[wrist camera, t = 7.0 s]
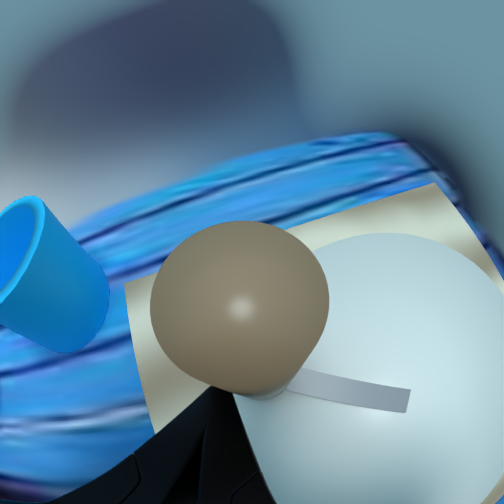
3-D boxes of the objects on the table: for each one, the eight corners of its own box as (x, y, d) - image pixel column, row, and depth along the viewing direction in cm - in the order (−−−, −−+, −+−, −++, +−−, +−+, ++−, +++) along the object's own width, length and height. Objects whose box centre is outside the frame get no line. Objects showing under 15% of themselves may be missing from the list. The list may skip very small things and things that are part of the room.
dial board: (543, 431, 8) (555, 429, 6) (254, 607, 5) (253, 619, 3) (428, 193, 21) (435, 180, 20) (133, 292, 18) (122, 281, 17)
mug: (108, 247, 21) (56, 177, 14) (114, 343, 16) (34, 293, 10) (15, 284, 19) (-39, 238, 13) (11, 364, 15) (-59, 330, 8)
